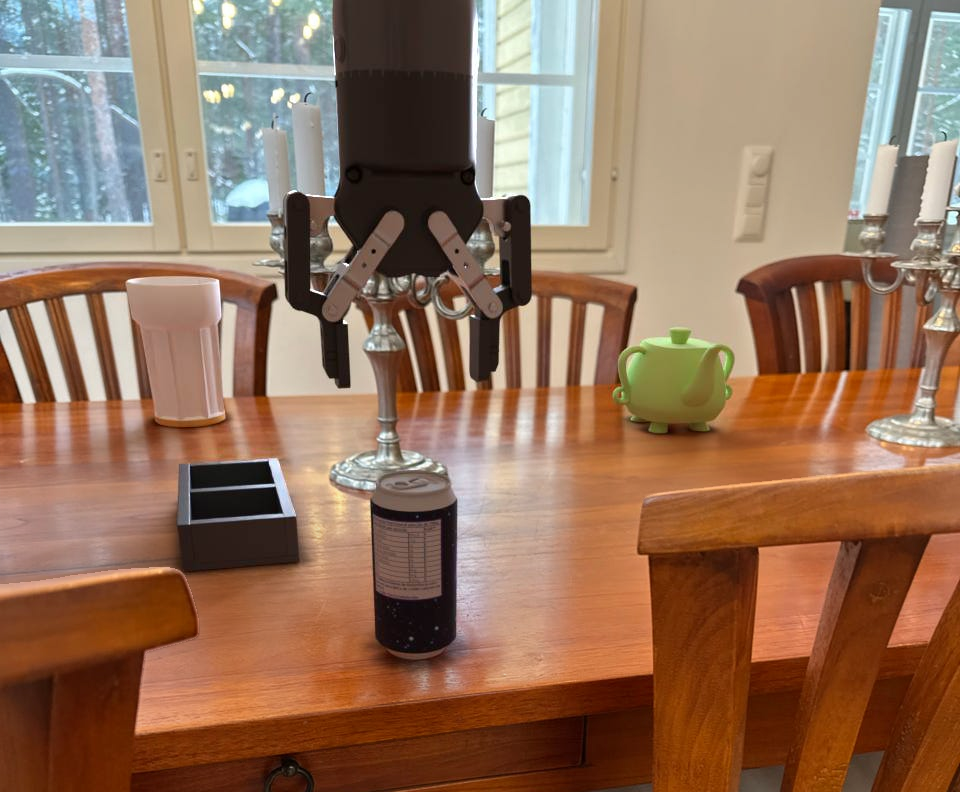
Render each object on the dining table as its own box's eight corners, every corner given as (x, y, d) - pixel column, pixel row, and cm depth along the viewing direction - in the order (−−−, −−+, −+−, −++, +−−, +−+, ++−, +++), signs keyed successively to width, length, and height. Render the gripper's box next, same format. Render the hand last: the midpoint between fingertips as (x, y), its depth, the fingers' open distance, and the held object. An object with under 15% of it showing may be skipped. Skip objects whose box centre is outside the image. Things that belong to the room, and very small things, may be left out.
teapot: (750, 426, 123) (766, 330, 117) (707, 446, 113) (721, 342, 107) (646, 407, 132) (655, 317, 126) (596, 425, 122) (605, 327, 116)
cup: (127, 424, 117) (104, 281, 109) (182, 406, 126) (164, 274, 118) (199, 433, 114) (181, 287, 106) (250, 414, 123) (237, 279, 115)
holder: (183, 572, 74) (177, 525, 72) (184, 503, 89) (178, 463, 87) (299, 561, 76) (296, 516, 74) (280, 497, 92) (277, 457, 90)
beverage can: (471, 651, 62) (474, 485, 57) (402, 672, 60) (398, 500, 54) (428, 621, 67) (427, 463, 61) (361, 640, 64) (353, 476, 58)
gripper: (512, 82, 52) (504, 367, 60) (263, 70, 49) (287, 375, 56) (557, 69, 46) (542, 391, 53) (274, 55, 42) (300, 401, 50)
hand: (411, 383), depth 55 cm, fingers open, 8 cm apart
